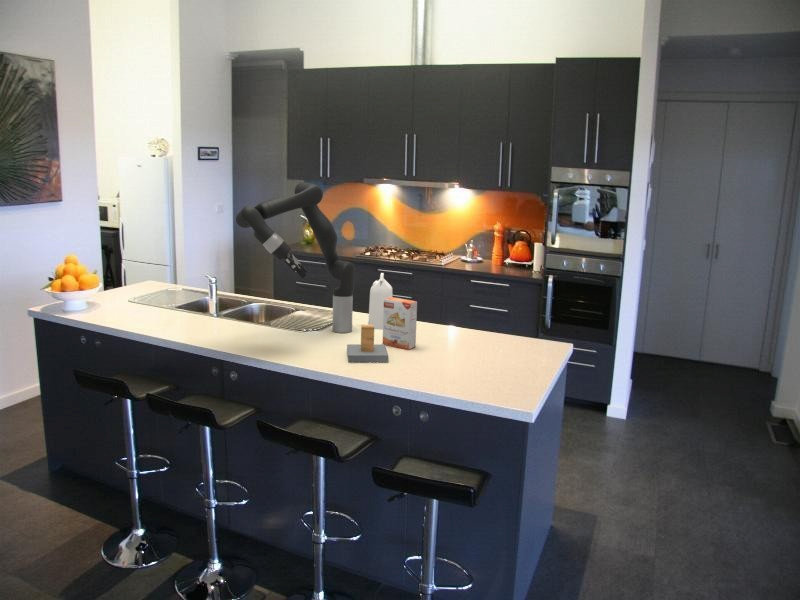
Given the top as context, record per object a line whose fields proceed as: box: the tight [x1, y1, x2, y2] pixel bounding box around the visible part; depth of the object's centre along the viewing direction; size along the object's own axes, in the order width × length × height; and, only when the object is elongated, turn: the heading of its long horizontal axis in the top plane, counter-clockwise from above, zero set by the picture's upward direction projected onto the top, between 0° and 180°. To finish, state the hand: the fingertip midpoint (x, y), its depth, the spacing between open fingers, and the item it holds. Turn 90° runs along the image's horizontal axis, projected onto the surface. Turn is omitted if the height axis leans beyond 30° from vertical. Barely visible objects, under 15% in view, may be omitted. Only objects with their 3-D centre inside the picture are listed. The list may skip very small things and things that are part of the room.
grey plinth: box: [346, 343, 389, 364], centre depth 277 cm, size 16×16×3 cm
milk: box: [367, 272, 394, 331], centre depth 326 cm, size 12×12×26 cm
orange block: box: [360, 324, 375, 352], centre depth 276 cm, size 5×5×10 cm
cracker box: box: [382, 296, 418, 351], centre depth 293 cm, size 14×6×21 cm, turn 57°
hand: (305, 274), depth 276 cm, fingers open, 8 cm apart
